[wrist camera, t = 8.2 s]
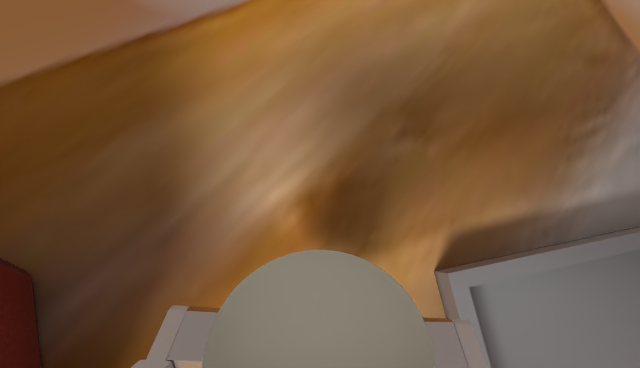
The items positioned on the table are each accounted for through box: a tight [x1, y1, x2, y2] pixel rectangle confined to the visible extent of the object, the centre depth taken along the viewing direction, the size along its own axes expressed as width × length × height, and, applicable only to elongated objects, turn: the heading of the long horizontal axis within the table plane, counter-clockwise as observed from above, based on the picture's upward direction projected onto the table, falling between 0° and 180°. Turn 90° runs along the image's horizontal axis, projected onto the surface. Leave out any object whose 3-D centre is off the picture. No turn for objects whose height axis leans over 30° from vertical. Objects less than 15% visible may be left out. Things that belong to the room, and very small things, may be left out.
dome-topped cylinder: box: [202, 250, 435, 368], centre depth 13 cm, size 6×6×10 cm
